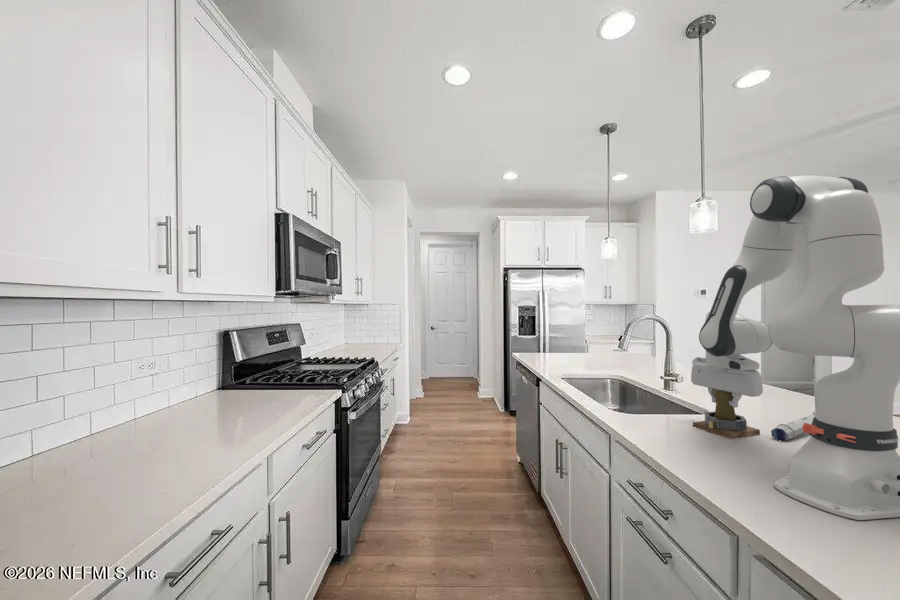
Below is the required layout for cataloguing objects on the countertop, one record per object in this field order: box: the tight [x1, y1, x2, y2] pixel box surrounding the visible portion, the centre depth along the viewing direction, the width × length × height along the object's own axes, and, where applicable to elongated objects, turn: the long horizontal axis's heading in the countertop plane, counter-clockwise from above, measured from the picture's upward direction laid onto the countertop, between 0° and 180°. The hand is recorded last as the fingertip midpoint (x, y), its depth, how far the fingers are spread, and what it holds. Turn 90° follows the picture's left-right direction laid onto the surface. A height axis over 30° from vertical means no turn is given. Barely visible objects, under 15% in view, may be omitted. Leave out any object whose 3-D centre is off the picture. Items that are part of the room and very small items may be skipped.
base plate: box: [692, 420, 761, 440], centre depth 115 cm, size 12×12×2 cm
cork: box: [714, 389, 737, 421], centre depth 115 cm, size 6×6×11 cm
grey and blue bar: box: [770, 410, 816, 442], centre depth 110 cm, size 5×7×25 cm
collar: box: [704, 410, 748, 432], centre depth 115 cm, size 11×10×3 cm
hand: (724, 404), depth 115 cm, fingers closed on cork, 4 cm apart
